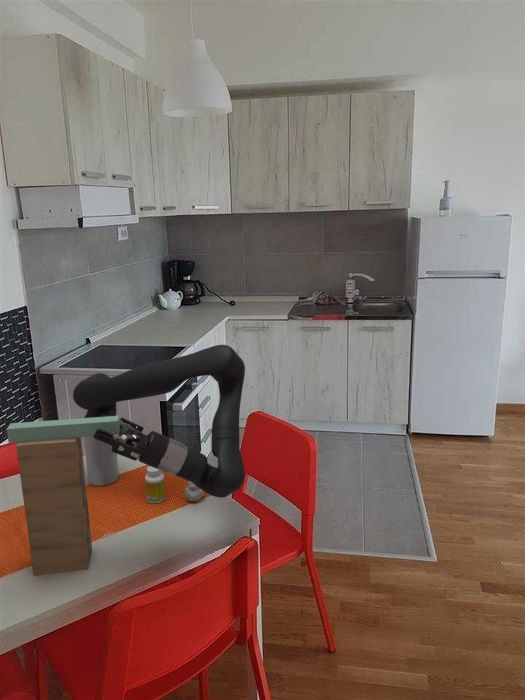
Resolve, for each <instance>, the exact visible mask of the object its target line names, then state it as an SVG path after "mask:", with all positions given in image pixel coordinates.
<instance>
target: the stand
mask: <svg viewBox="0 0 525 700" xmlns="http://www.w3.org/2000/svg"><path fill="white" fill-rule="evenodd" d="M16 453H17V461H18V469H19V475H20V478H19V479H20V484H21V491H22V492H21V493H22V500H23V507H24V514H25V523H26V528H27V535H28V542H29V550H30V551H29V552H30V556H31V564H32V565H31V566H32V574H33V576H40V575H49V574H58V573H65V572H66V573H67V572H73V571H75V572H76V571H81V570H89V568H90V564H91V560H92V559H91V558H92V554H93V545H92V544H93V543H92V535H91V532H92V531H91V525H90V514H89V512H90V511H89V504H88V494H87V484H86V474H85V472H86V471H85V466H84V465H85V463H84V454H83V444H82V437H79V438H66V439H53V440H40V441H27V442H17V444H16Z"/></svg>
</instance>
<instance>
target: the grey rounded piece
mask: <svg viewBox="0 0 525 700" xmlns="http://www.w3.org/2000/svg"><path fill="white" fill-rule="evenodd" d="M187 481H188V480H187ZM187 485H188V486H186V487H185V489H184V496H185V498H186V499H187V501H190V502H198V501H200V500H201V499H202V498H203V496H204V493H205V492H204V491H203V490H201V489H200V488H199V487H197V486H196V485H195V484H193V483H192V482H191V481H188V482H187Z"/></svg>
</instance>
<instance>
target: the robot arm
mask: <svg viewBox="0 0 525 700" xmlns="http://www.w3.org/2000/svg"><path fill="white" fill-rule="evenodd" d="M245 375H246V365H245V363H244V361H243V359H242V357H240V356H239V354H238V353H237V352H236V350H235V349H234V348H233V347H231V346H229V345H227V344H216V345H213V346H210V347H207V348H204V349H202V350H198V351H195V352H193V353H190V354H186V355H181V356H179V357H174V358H169V359H166V360H161V361H155V362H150V363H147V364H144V365H143V364H142V365H140V366H137V367H135V368H131V369H129V370H127V371H125V372H123V373H120V374H118V375H115V376H112V377H110V376H109V375H108V374H106V373H101V372H98V373H94V374H92V375H90V376H88V377H86V378H84V379H83V380H80V381H79V383H77V384H76V386H75V387H74V389H73V392H72V400H73V402H74V404H76V405H77V406H78V407H80V408H81V409H84V410H87V411H86V413H85V415H84V417H83V418H94V417H108V416H117V403H118V402H124V401H132V400H138V399H143V398H151V397H156V396H161V395H165V394H169V393H172V392H174V391H175V390H176V389H178V387H180V386H181V385H182V384H183V383H185V381H187V380H190V379H193V378H198V377H203V376H211V378H212V379H214V381H216V382H217V386H218V392H219V393H218V394H219V399H218V406H217V408H216V411H215V414H214V415H213V419H212V424H211V437H210V438H211V439H210V440H211V441H210V442H211V443H210V444H211V453H212V455H213V456H214V457H215V458H217V467H215V466H213V465H211V464H209V462H208V457H207V456H206V455H205V454H204V453H202V452H200V451H198V450H195V449H193V448H190V447H188V446H187V445H184V444H183V443H182V442H179V441H177V440H176V439H173V438H170V437H168V436H166V435H163V434H162V433H159V432H157V431H154V430H151V431H150V432H149V433H148V434H144V433H143V431H144V429H145V428H144V427H143V426H141V425H139V424H137V423H135V422H133V421H130V420H128V419H126V418H124V417H121V418H119V422H120V431H119V434H118V435H113V434H111V433H109V432H106V431H104V430H102V429H97V430H96V432H95V434H94V436H92V437H83V443H84V453H85V462H86V472H87V474H86V475H87V482H88V483H89V485H92V486H94V487H95V486H97V487H98V486H99V487H102V486H108V485H112V484H113V483H115V482H116V481H118V480H119V478H120V471H119V459H118V456H121V457H124V458H126V459H129V460H132V461H135V462H137V460H138V461H139V463H142V464H144V465H146V466H148V467H149V466H151V467H154V468H156V469H158V470H161V472H162V473H166V474H170V475H174V476H176V477H178V478H180V479H182V480H185V481H191V482H192V483H193V484H195V485H196V486H197V487H199V488H200V489H201V490H203V491H204V493H206V494H208V495H210V496H212V497H215V498H226V497H228V496H230V495H232V494H233V493H235V492H236V491H238V490H239V489H240V488H241V487H242V486H243V485H244V481H245V477H246V476H245V475H246V472H245V464H244V459H243V457H242V452H241V449H240V411H241V402H242V394H243V388H244V387H243V386H244V380H245Z"/></svg>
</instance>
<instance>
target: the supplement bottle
mask: <svg viewBox="0 0 525 700" xmlns="http://www.w3.org/2000/svg"><path fill="white" fill-rule="evenodd" d="M144 484H145V499H146V501H147V502H148V503H151V504H159V503H161V502H164V500H165V499H166V487H165V485H166V483H165V474H164V472H162V471H161V470H158V469H156V468H154V467H151V466H149V465H148V466H147V467H146V474H145V477H144Z"/></svg>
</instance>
